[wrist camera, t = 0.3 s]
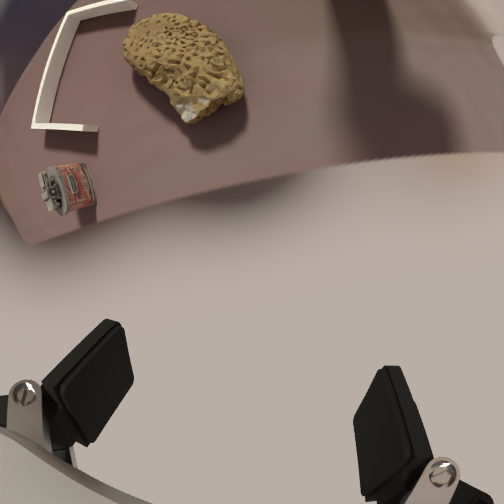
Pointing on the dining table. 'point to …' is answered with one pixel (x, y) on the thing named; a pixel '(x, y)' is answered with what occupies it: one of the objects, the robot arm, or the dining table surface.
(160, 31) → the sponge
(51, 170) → the lighter
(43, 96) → the box
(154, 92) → the dining table surface
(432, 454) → the robot arm
